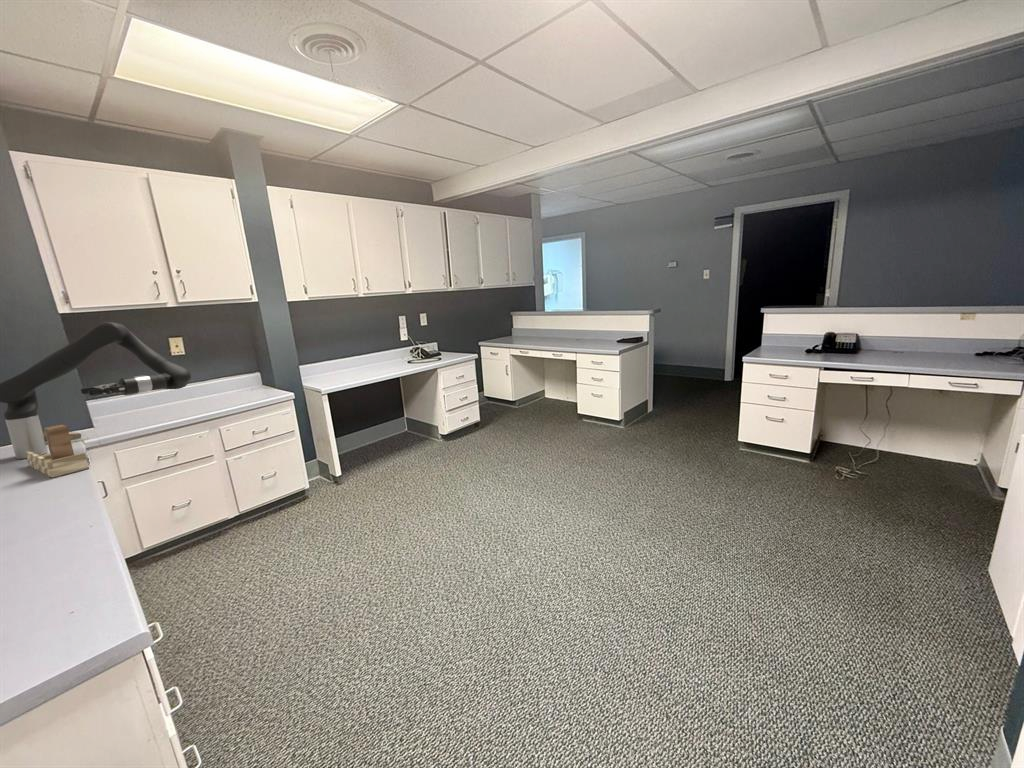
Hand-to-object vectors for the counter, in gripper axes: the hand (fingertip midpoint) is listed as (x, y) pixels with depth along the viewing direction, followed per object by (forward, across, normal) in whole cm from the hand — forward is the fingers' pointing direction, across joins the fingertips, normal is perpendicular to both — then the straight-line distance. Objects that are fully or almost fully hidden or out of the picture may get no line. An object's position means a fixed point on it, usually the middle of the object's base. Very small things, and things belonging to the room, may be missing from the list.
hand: (85, 392), depth 168 cm
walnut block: (+12, +8, +24) cm, 28 cm away
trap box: (+12, -1, +28) cm, 31 cm away
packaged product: (-2, -53, +29) cm, 61 cm away
